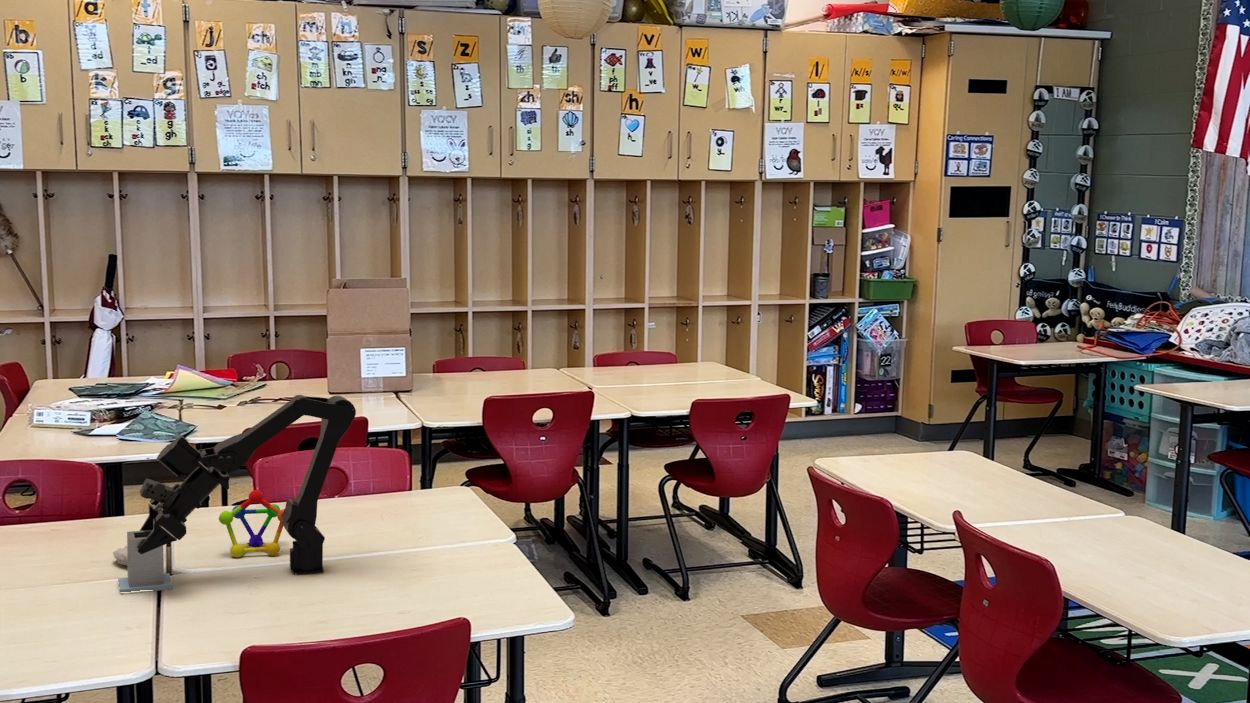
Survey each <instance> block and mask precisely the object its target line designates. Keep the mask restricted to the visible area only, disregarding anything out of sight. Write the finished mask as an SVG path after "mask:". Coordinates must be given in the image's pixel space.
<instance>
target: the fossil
mask: <svg viewBox="0 0 1250 703" xmlns="http://www.w3.org/2000/svg"><path fill="white" fill-rule="evenodd" d="M112 555H113V557H114V558H115V559H116V560H117V563H118V564H120V565H121V566H122V565H124V566H127V567H128V563H127V545H125V546H124V547H122V548H121V547H120V548H118V549H116V550H115V551H113V552H112Z"/></svg>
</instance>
